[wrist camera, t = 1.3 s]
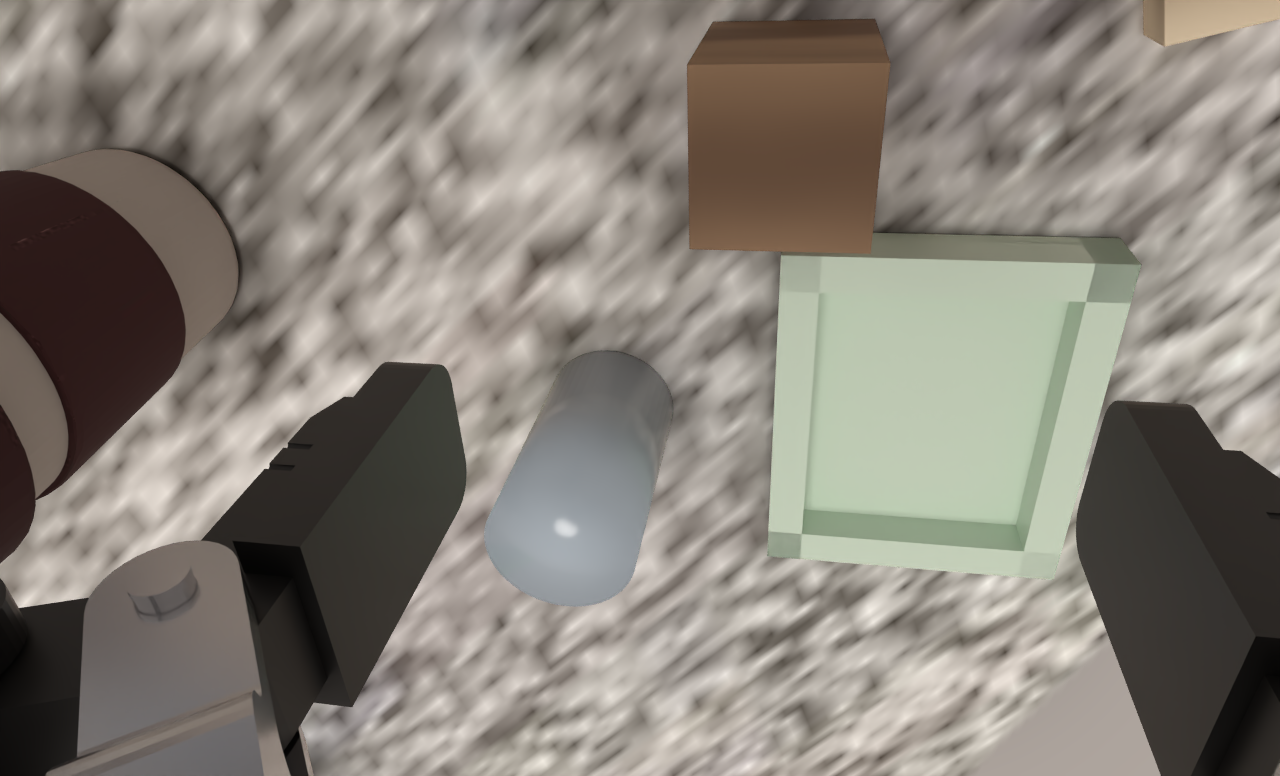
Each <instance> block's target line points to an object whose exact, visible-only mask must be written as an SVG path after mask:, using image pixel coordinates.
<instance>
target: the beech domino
mask: <svg viewBox="0 0 1280 776" xmlns="http://www.w3.org/2000/svg"><path fill="white" fill-rule="evenodd" d="M1277 19H1280V0H1143V30H1144V35H1145V36H1147V37H1148V38H1150V39H1152V40H1154V41H1155V42H1157V43H1159V44H1161V45H1163V46H1164V47H1165V46H1169V45H1174V44H1178V43H1182V42H1186V41H1190V40H1194V39H1198V38H1203V37H1207V36H1211V35H1215V34H1219V33H1223V32H1228V31H1232V30H1236V29H1240V28H1244V27H1248V26H1252V25H1257V24H1261V23H1265V22H1269V21H1273V20H1277Z"/></svg>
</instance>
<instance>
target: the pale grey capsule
mask: <svg viewBox="0 0 1280 776" xmlns="http://www.w3.org/2000/svg"><path fill="white" fill-rule="evenodd" d="M672 417H673V402H672V398H671V394H670V392H669V389H668V387H667V385H666V384H665V382H664V380H663V379H662V378H661V376H660V375H659V374H658V373H657V372H656V371H655V370H654V369H653V368H651V367H650V366H649V365H648V364H646V363H645V362H643V361H641V360H640V359H637V358H635V357H633V356H631V355H628V354H625V353H620V352H615V351H596V352H590V353H587V354H584V355H581V356H579V357H577V358H575V359H573V360H572V361H570V362H569V363H568V364H567V365H565V367H564V368H563V369H562V370H561V371H560V373H559V374H558V376H557V378H556V380H555V382H554V384H553V386H552V388H551V390H550V392H549V394H548V396H547V398H546V400H545V402H544V404H543V406H542V408H541V410H540V413H539V415H538V417H537V419H536V421H535V423H534V425H533V427H532V429H531V431H530V433H529V435H528V437H527V439H526V441H525V443H524V445H523V447H522V449H521V452H520V454H519V456H518V458H517V460H516V462H515V464H514V466H513V468H512V470H511V472H510V474H509V476H508V478H507V480H506V482H505V484H504V486H503V488H502V490H501V493H500V495H499V497H498V499H497V501H496V503H495V505H494V507H493V509H492V511H491V513H490V515H489V517H488V519H487V522H486V526H485V533H484V538H485V545H486V549H487V552H488V555H489V557H490V559H491V561H492V563H493V564H494V566H495V567H496V569H497V570H498V571H499V573H500V574H501V575H502V576H503V577H504V578H505V579H506V580H507V581H509V582H510V583H511V584H512V585H513V586H515V587H516V588H518V589H519V590H521V591H522V592H524V593H526V594H528V595H530V596H532V597H534V598H536V599H539V600H542V601H545V602H548V603H552V604H556V605H563V606H587V605H594V604H597V603H601V602H603V601H606V600H608V599H610V598H612V597H614V596H615V595H617V594H618V593H619V592H621V591H622V590H623V589H624V588H625V587H626V586H627V584H628V583H629V581H630V580H631V578H632V575H633V573H634V570H635V566H636V562H637V558H638V554H639V550H640V546H641V542H642V538H643V534H644V530H645V526H646V522H647V518H648V514H649V510H650V506H651V502H652V498H653V494H654V490H655V486H656V482H657V478H658V474H659V470H660V466H661V462H662V458H663V454H664V450H665V445H666V441H667V437H668V433H669V429H670V425H671V421H672Z"/></svg>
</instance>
